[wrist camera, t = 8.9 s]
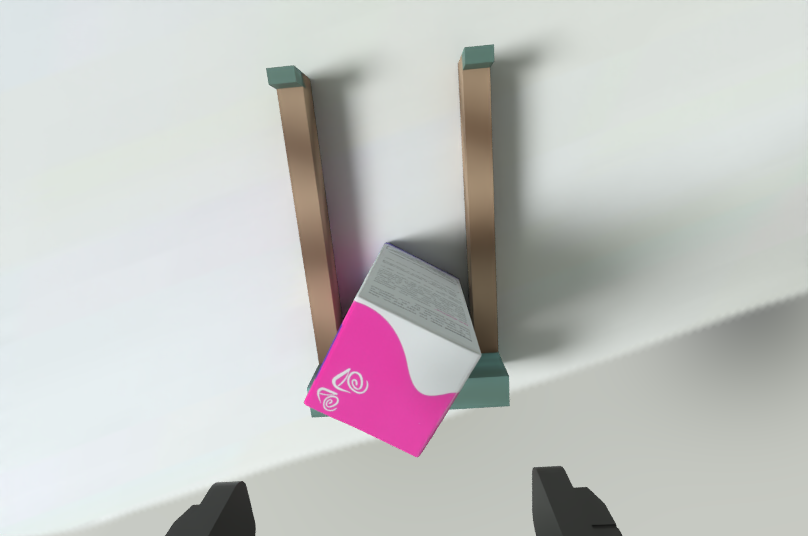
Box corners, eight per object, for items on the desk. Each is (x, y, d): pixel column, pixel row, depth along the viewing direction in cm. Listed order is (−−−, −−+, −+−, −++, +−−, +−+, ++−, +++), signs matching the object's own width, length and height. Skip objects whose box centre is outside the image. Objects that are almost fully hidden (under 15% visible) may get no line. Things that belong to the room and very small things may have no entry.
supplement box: (383, 238, 26) (358, 291, 15) (460, 277, 26) (493, 356, 15) (347, 311, 27) (299, 408, 16) (421, 346, 28) (425, 465, 17)
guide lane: (285, 81, 24) (252, 58, 19) (483, 61, 23) (501, 32, 18) (329, 375, 28) (311, 417, 24) (493, 364, 28) (509, 406, 23)
